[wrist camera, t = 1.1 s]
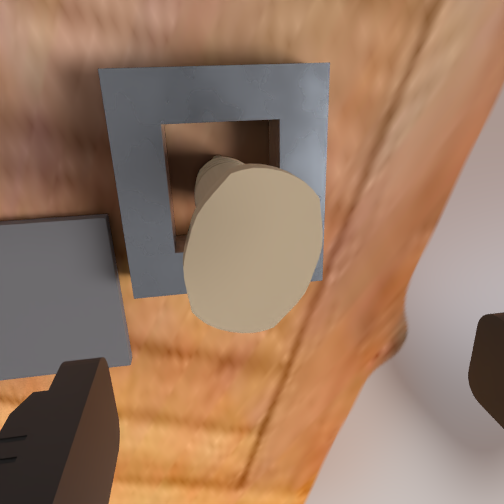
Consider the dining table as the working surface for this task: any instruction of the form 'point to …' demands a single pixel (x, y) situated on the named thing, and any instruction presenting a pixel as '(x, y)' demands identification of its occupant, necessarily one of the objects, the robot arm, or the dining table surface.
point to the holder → (197, 111)
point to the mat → (59, 295)
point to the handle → (250, 244)
